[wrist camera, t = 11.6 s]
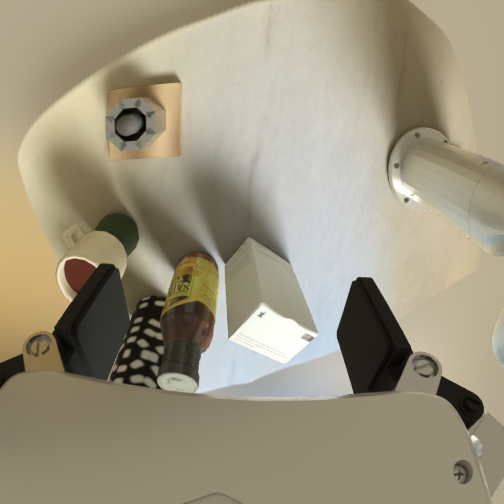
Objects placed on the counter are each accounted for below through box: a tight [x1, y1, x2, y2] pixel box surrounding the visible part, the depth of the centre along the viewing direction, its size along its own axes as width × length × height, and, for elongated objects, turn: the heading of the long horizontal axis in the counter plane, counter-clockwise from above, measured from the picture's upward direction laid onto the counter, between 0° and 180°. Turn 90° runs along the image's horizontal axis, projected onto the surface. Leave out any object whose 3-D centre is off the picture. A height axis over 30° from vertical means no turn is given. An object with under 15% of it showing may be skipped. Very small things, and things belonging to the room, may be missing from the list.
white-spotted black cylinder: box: [109, 296, 166, 390], centre depth 37 cm, size 8×8×20 cm
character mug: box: [56, 213, 139, 302], centre depth 33 cm, size 11×7×13 cm, turn 23°
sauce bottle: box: [157, 253, 219, 393], centre depth 33 cm, size 7×6×20 cm
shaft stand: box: [108, 83, 182, 161], centre depth 28 cm, size 9×9×7 cm
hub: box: [106, 97, 166, 152], centre depth 28 cm, size 6×6×5 cm
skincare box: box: [225, 237, 318, 364], centre depth 35 cm, size 8×6×15 cm
